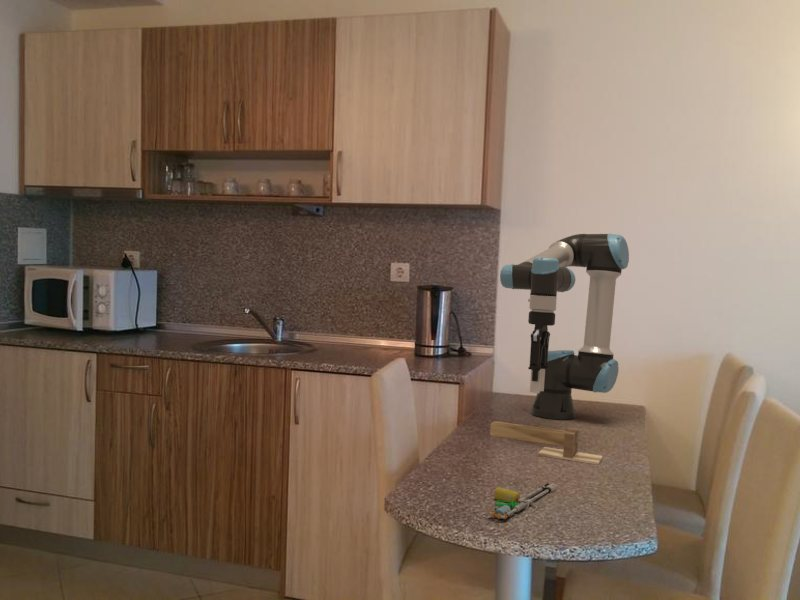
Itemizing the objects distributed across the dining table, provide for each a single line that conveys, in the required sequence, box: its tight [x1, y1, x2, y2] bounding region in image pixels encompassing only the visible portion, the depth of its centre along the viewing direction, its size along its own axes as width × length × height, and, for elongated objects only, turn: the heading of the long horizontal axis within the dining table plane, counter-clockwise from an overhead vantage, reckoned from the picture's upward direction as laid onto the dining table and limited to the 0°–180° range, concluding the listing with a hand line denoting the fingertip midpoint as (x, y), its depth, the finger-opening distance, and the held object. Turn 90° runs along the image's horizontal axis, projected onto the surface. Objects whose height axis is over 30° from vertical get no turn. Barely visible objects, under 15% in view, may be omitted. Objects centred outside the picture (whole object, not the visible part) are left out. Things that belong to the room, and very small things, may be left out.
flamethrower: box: [488, 483, 558, 520], centre depth 147 cm, size 29×3×10 cm
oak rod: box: [489, 420, 567, 447], centre depth 205 cm, size 4×24×4 cm, turn 67°
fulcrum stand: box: [537, 427, 604, 466], centre depth 187 cm, size 8×16×7 cm, turn 66°
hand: (536, 391), depth 199 cm, fingers open, 4 cm apart
